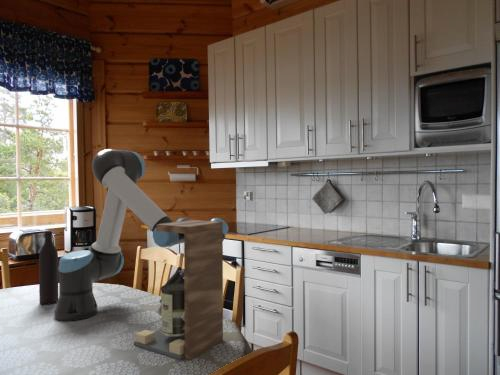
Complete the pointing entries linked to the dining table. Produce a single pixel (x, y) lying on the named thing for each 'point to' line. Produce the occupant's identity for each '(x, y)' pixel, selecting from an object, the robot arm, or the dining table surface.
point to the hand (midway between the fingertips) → (171, 316)
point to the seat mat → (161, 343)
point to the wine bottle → (48, 271)
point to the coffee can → (173, 309)
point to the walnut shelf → (201, 282)
